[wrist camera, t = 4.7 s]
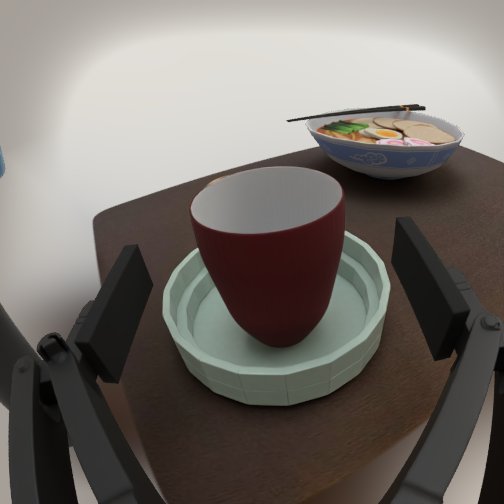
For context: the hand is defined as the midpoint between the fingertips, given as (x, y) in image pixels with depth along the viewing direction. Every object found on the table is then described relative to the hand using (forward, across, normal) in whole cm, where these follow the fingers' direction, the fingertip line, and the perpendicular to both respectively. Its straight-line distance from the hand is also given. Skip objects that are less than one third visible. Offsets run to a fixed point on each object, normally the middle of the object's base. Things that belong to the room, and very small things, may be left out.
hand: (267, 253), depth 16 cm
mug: (+4, 0, -8) cm, 9 cm away
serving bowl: (+4, 0, -8) cm, 9 cm away
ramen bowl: (+30, +17, -9) cm, 35 cm away
